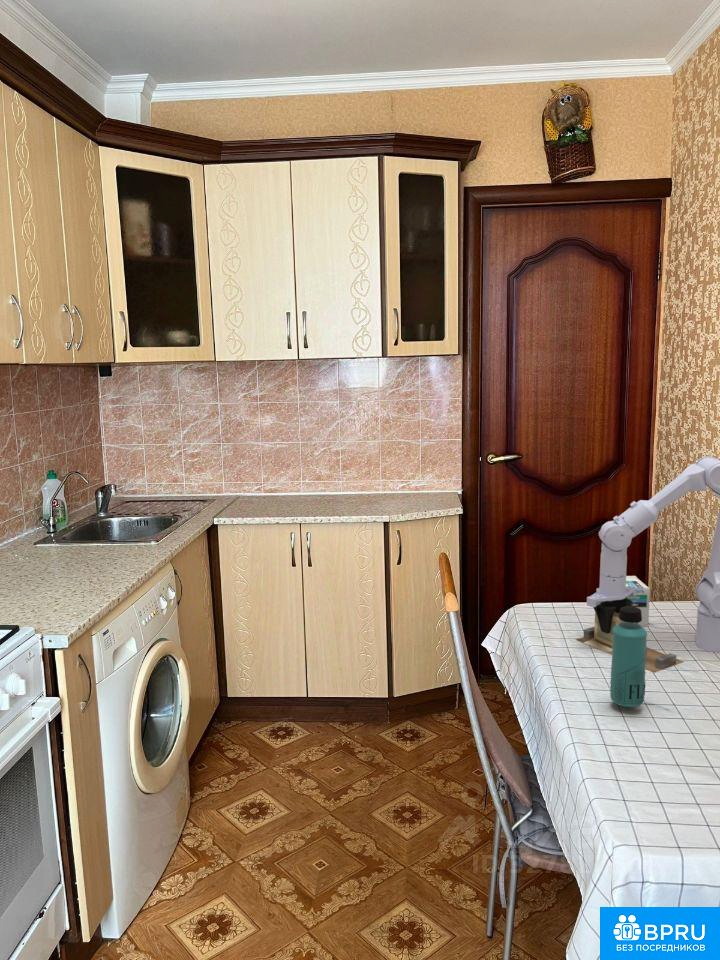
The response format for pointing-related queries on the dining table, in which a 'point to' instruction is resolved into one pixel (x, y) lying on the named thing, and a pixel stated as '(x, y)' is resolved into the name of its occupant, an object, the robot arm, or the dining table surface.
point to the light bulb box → (640, 598)
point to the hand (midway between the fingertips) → (610, 630)
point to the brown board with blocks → (654, 658)
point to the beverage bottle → (628, 659)
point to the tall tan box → (604, 636)
